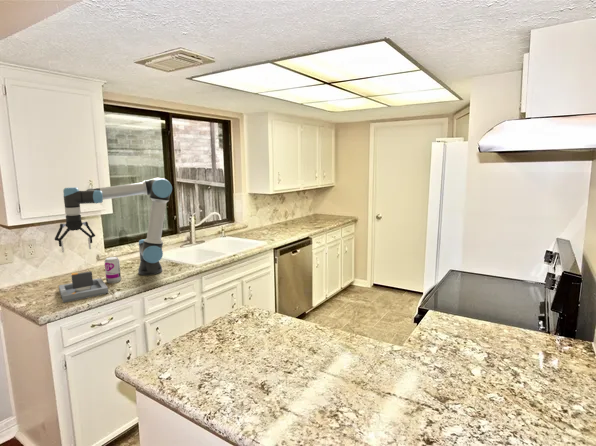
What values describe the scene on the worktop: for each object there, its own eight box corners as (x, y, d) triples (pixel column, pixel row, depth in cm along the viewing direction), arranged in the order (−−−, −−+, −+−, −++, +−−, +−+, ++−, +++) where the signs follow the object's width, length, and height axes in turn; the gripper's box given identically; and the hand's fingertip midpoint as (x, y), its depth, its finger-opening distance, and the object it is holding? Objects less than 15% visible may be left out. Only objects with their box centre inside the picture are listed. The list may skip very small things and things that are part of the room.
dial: (92, 286, 217) (90, 269, 215) (94, 289, 211) (92, 272, 209) (72, 289, 211) (70, 272, 210) (74, 293, 205) (72, 275, 203)
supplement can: (115, 283, 226) (113, 260, 223) (103, 282, 228) (101, 259, 225) (123, 279, 234) (121, 256, 231) (112, 278, 235) (110, 256, 233)
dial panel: (101, 283, 227) (100, 277, 226) (108, 293, 209) (107, 287, 209) (59, 291, 213) (58, 285, 213) (63, 302, 196) (62, 295, 196)
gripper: (96, 212, 221) (99, 246, 225) (46, 215, 207) (50, 251, 210) (98, 213, 215) (101, 248, 219) (47, 217, 201) (51, 254, 204)
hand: (76, 250), depth 214 cm, fingers open, 13 cm apart
